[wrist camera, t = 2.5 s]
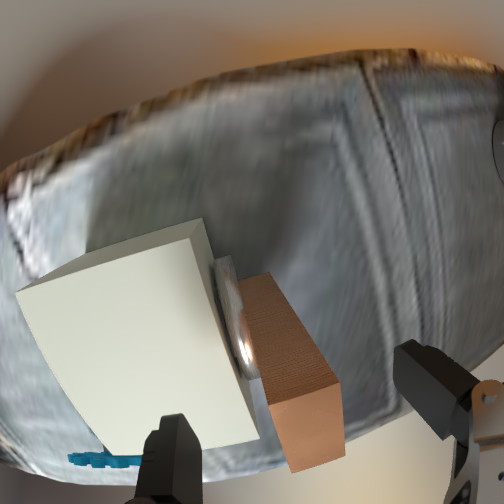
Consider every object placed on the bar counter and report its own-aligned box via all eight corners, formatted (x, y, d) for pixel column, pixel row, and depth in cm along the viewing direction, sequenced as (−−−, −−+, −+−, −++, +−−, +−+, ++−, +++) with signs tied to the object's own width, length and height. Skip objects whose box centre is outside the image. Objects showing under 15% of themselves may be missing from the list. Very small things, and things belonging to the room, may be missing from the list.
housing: (202, 217, 20) (189, 237, 11) (244, 356, 23) (259, 438, 14) (85, 253, 20) (14, 292, 10) (138, 378, 22) (112, 455, 13)
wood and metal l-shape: (255, 236, 20) (333, 327, 6) (279, 330, 21) (345, 475, 8) (131, 271, 19) (25, 387, 6) (166, 358, 21) (134, 508, 7)
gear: (92, 460, 22) (53, 468, 14) (84, 417, 26) (43, 411, 17) (176, 459, 25) (162, 474, 17) (166, 414, 28) (148, 412, 20)
